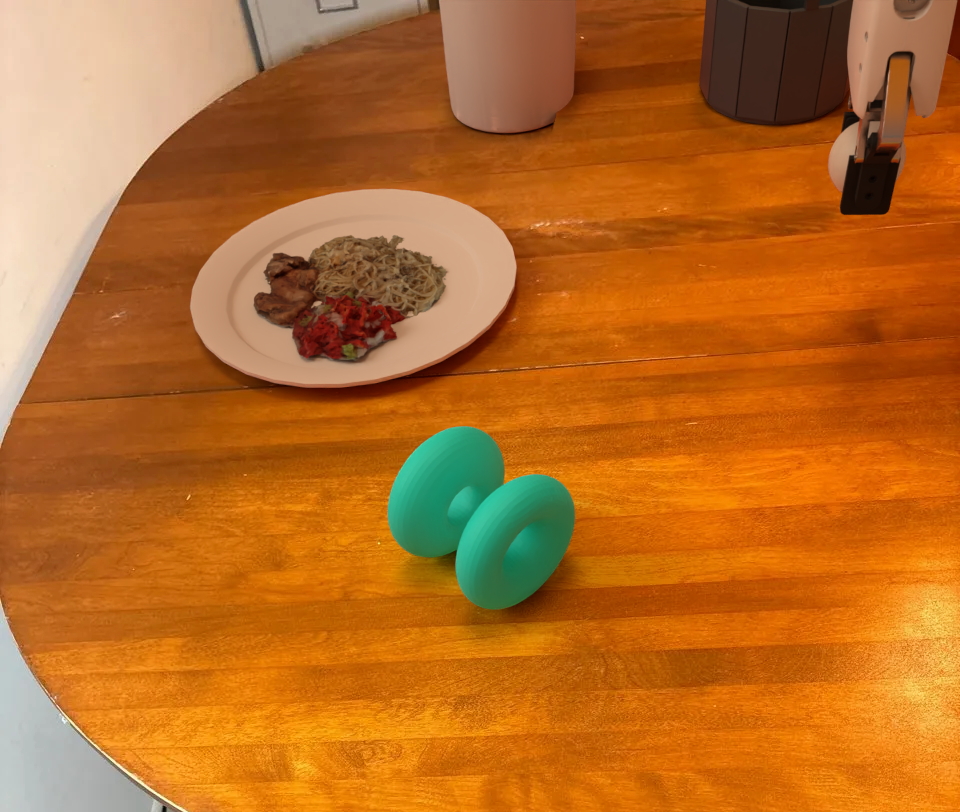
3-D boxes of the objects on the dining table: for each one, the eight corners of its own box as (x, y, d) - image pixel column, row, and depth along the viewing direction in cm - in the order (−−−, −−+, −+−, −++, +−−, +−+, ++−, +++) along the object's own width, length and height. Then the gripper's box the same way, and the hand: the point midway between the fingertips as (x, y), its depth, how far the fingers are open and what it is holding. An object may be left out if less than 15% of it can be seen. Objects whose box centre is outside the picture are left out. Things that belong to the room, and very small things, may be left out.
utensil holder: (510, 59, 124) (500, -115, 110) (607, 95, 117) (610, -87, 104) (420, 111, 119) (398, -66, 105) (517, 151, 112) (507, -33, 98)
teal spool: (488, 496, 81) (478, 393, 73) (584, 562, 76) (584, 460, 68) (390, 568, 77) (368, 468, 70) (483, 643, 73) (471, 544, 65)
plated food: (446, 176, 110) (443, 145, 107) (572, 335, 92) (572, 302, 90) (165, 259, 104) (154, 228, 102) (242, 444, 87) (231, 413, 84)
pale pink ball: (894, 174, 76) (909, 104, 72) (899, 213, 73) (916, 142, 69) (821, 175, 76) (833, 105, 72) (824, 213, 73) (836, 143, 70)
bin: (867, 116, 108) (899, -34, 97) (720, 135, 108) (735, -13, 97) (822, 48, 117) (846, -95, 107) (686, 66, 117) (696, -75, 107)
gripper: (1014, -53, 54) (929, 261, 69) (973, -169, 64) (906, 127, 79) (861, -46, 56) (809, 261, 70) (844, -161, 65) (801, 128, 80)
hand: (861, 187), depth 74 cm, fingers closed on pale pink ball, 4 cm apart
